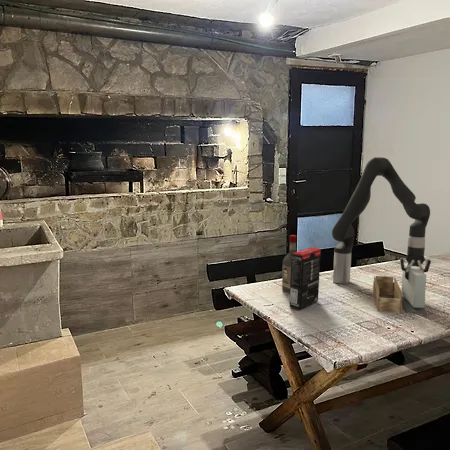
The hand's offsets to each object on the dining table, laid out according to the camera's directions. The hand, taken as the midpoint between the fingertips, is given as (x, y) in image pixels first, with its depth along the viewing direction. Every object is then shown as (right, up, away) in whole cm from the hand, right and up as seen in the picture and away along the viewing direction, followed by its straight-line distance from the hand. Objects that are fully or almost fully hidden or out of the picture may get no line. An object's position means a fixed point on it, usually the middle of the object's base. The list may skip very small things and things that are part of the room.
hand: (413, 279), depth 218 cm
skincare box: (0, -11, +2) cm, 11 cm away
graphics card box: (-52, -13, +2) cm, 54 cm away
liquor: (-55, -9, +23) cm, 61 cm away
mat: (0, -12, +2) cm, 13 cm away
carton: (-12, -12, +5) cm, 17 cm away
